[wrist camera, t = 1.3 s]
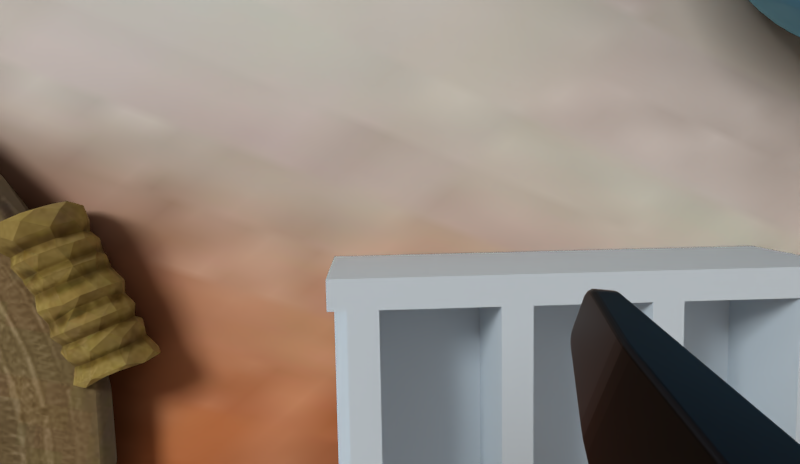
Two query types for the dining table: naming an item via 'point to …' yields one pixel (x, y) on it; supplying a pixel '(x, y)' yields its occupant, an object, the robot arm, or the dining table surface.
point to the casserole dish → (781, 13)
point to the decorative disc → (60, 336)
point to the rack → (538, 344)
